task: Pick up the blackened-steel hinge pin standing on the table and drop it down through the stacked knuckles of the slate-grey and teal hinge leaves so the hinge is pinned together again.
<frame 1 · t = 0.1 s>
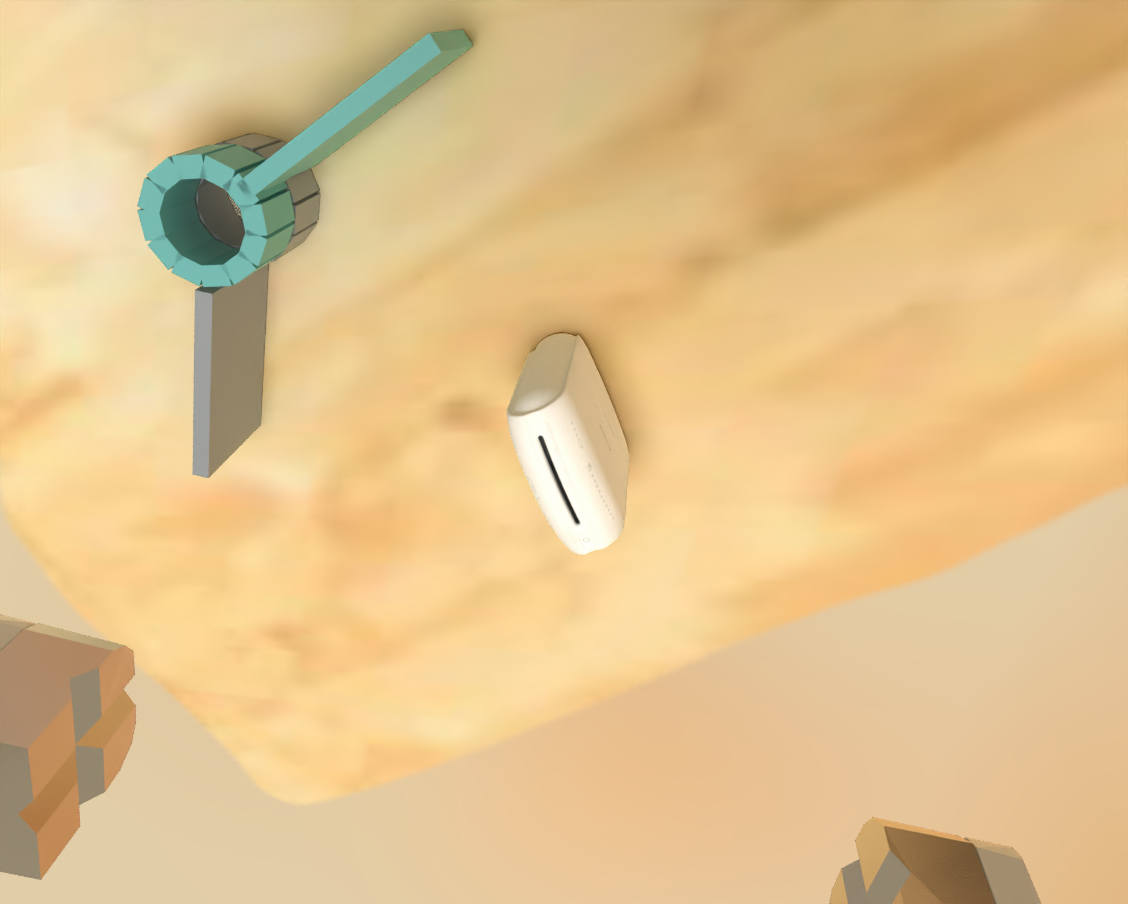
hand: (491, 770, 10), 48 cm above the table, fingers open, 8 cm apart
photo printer: (581, 401, 60), on the table
frame leaf: (264, 194, 56), on the table
door leaf: (314, 146, 50), point 4 cm above the table, hinge at 0.0°
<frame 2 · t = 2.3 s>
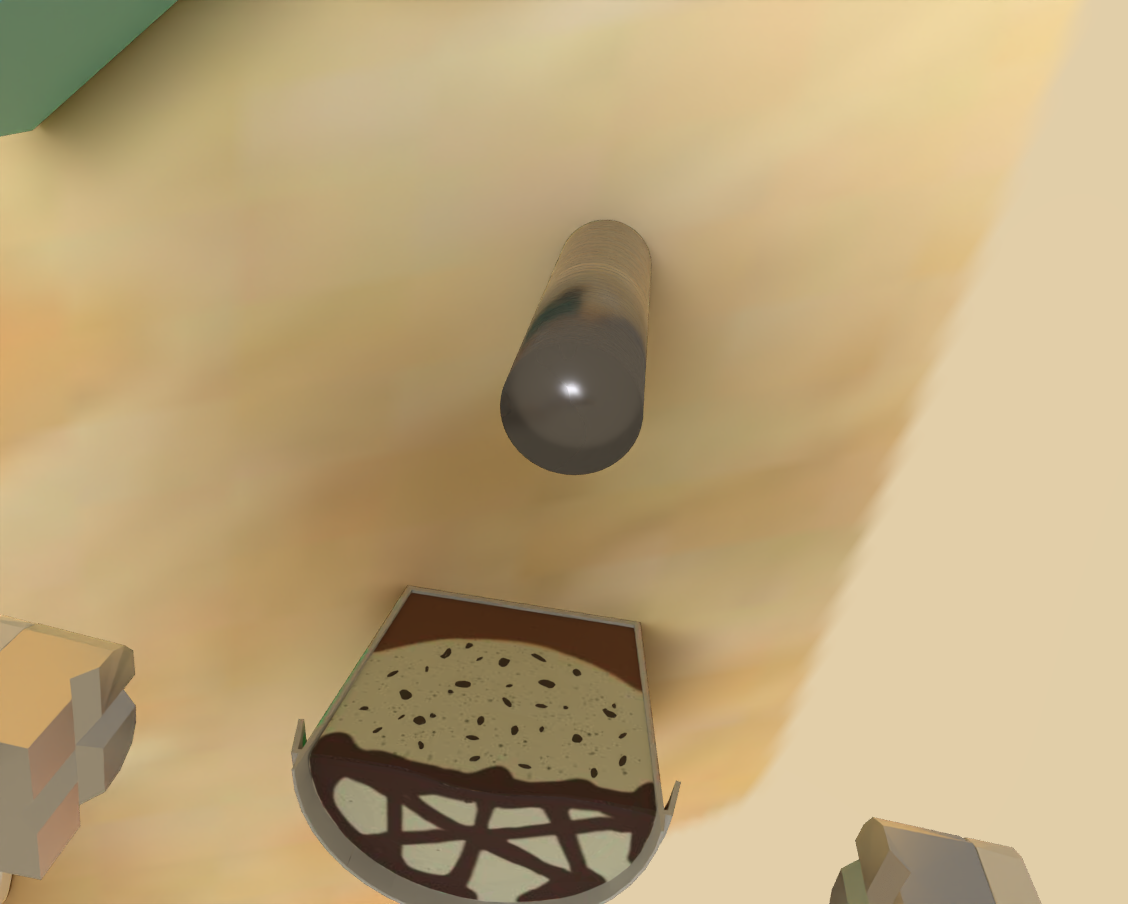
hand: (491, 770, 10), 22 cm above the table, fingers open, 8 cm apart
hinge pin: (605, 266, 30), on the table
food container: (516, 661, 38), on the table
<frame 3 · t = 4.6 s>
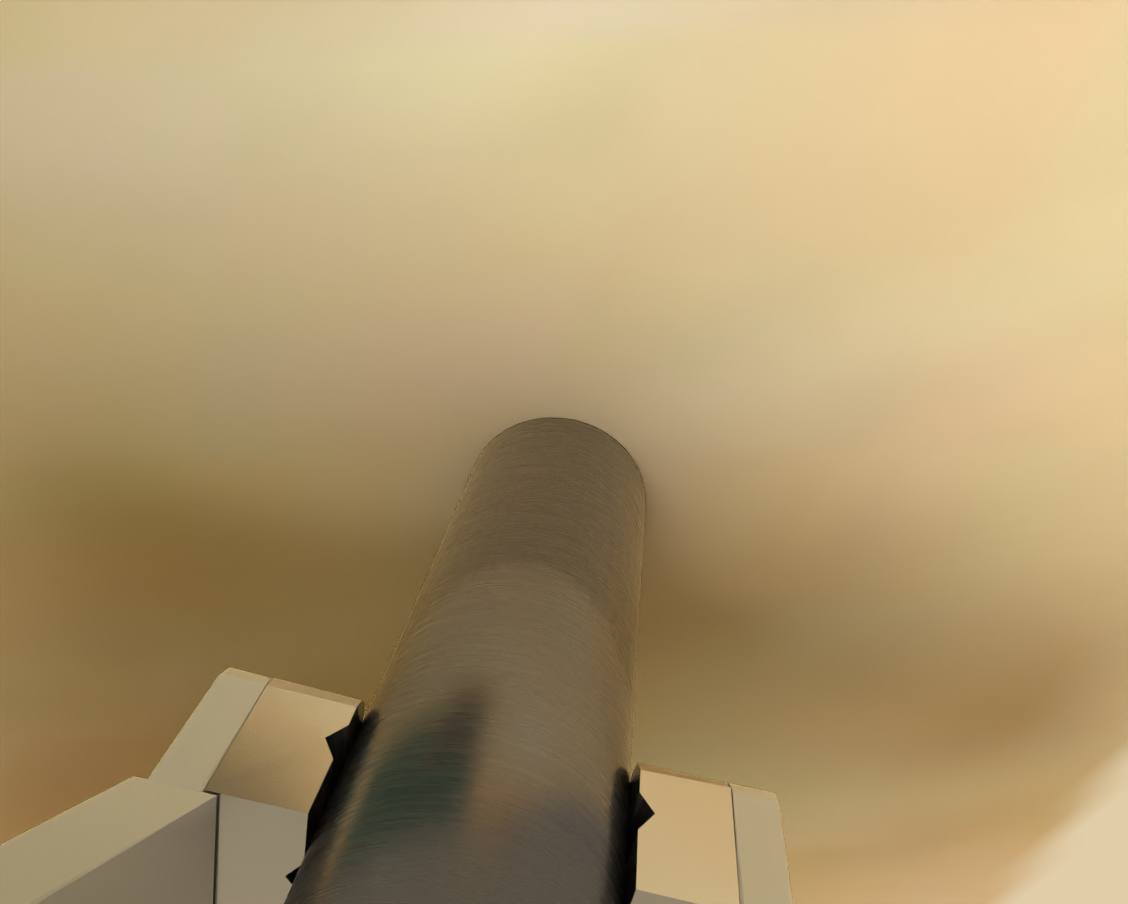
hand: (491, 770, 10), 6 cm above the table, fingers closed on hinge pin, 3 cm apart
hinge pin: (556, 498, 15), on the table, touching gripper
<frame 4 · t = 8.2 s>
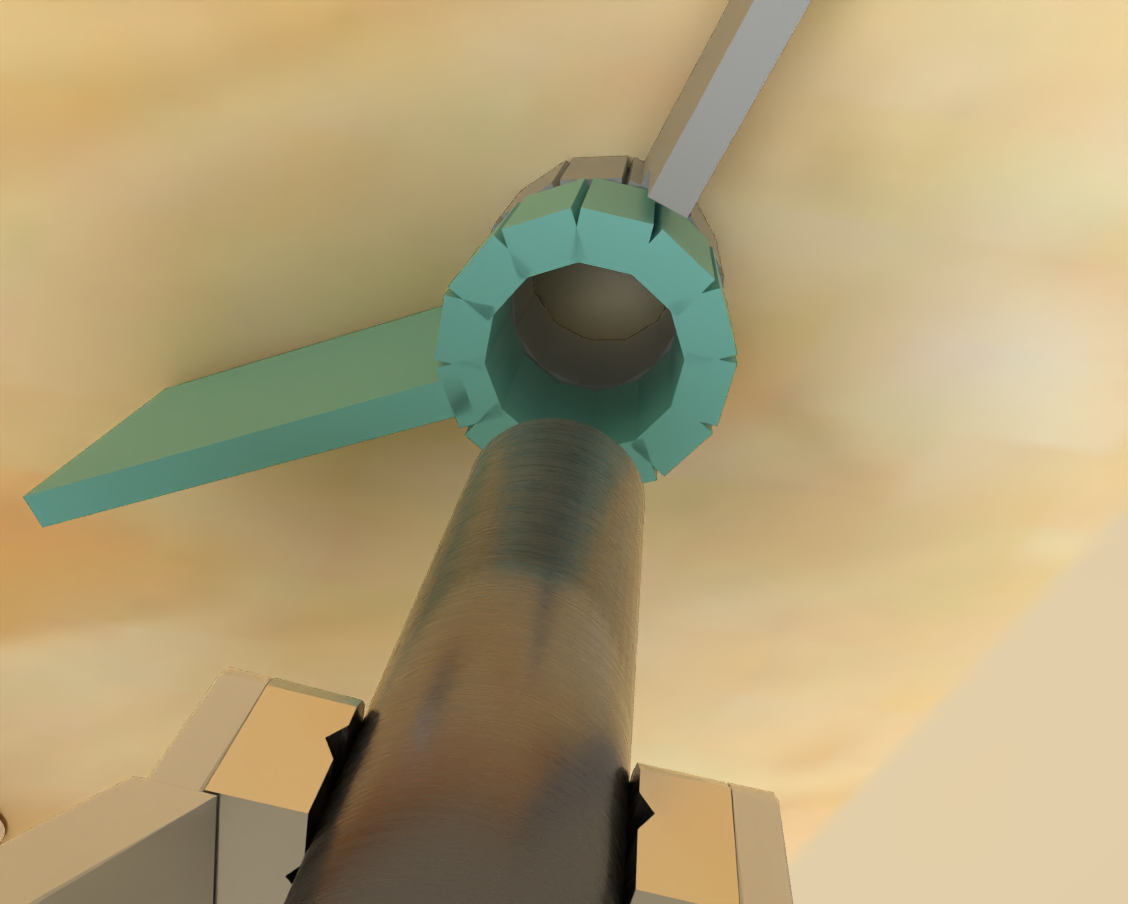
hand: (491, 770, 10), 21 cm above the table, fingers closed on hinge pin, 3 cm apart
frame leaf: (604, 271, 29), on the table
door leaf: (390, 370, 26), point 4 cm above the table, hinge at 0.0°
hinge pin: (556, 499, 15), point 15 cm above the table, touching gripper
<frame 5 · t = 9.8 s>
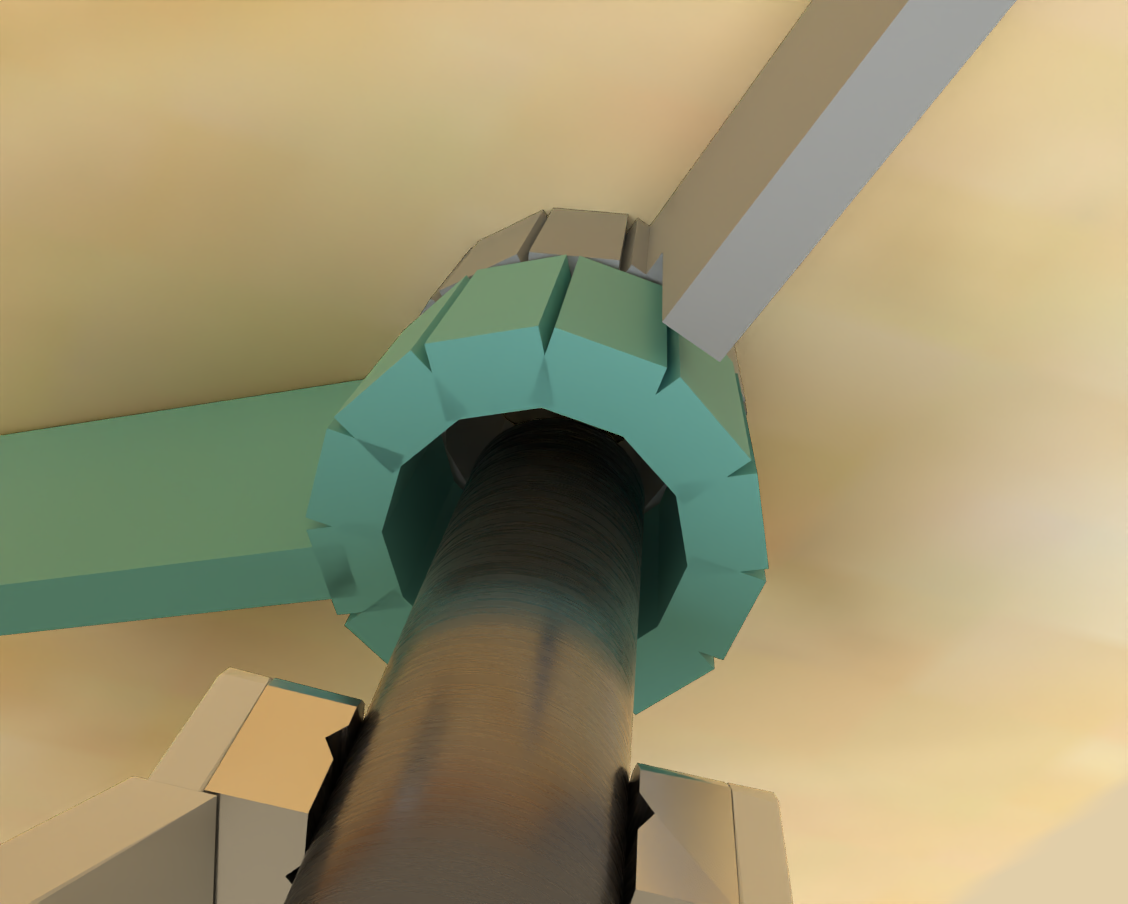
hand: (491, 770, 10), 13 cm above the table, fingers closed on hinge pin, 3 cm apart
frame leaf: (578, 361, 21), on the table
door leaf: (262, 480, 19), point 4 cm above the table, hinge at 0.0°
hinge pin: (556, 499, 15), point 7 cm above the table, touching gripper
when the fingers open (10 cm above the table, at t = 11.4 s): hinge pin drops 3 cm, resting in frame leaf.
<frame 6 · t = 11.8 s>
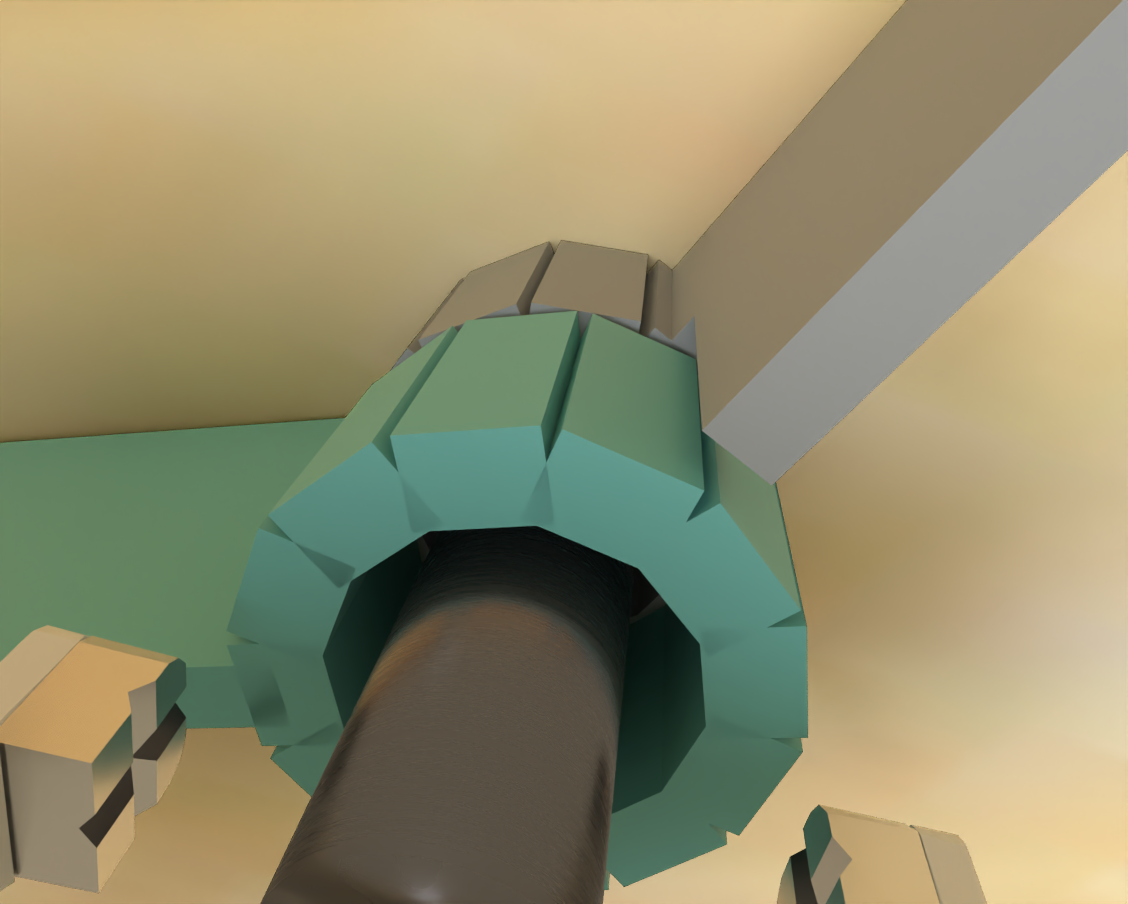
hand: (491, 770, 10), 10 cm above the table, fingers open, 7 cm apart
frame leaf: (577, 416, 18), on the table
door leaf: (192, 544, 16), point 4 cm above the table, hinge at 0.0°
hinge pin: (575, 417, 18), resting in frame leaf
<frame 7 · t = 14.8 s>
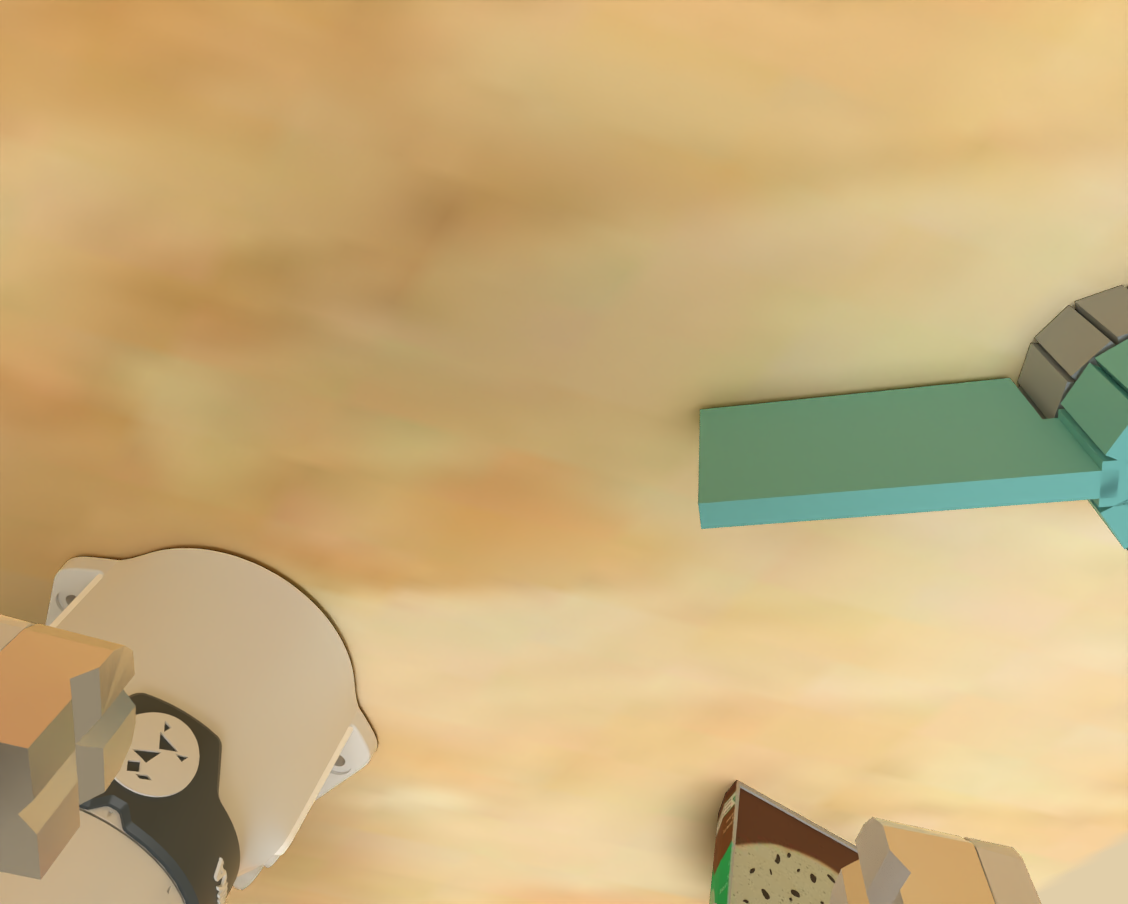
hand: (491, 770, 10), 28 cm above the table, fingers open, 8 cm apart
frame leaf: (1117, 374, 35), on the table
door leaf: (974, 438, 33), point 4 cm above the table, hinge at 0.0°
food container: (774, 849, 49), on the table
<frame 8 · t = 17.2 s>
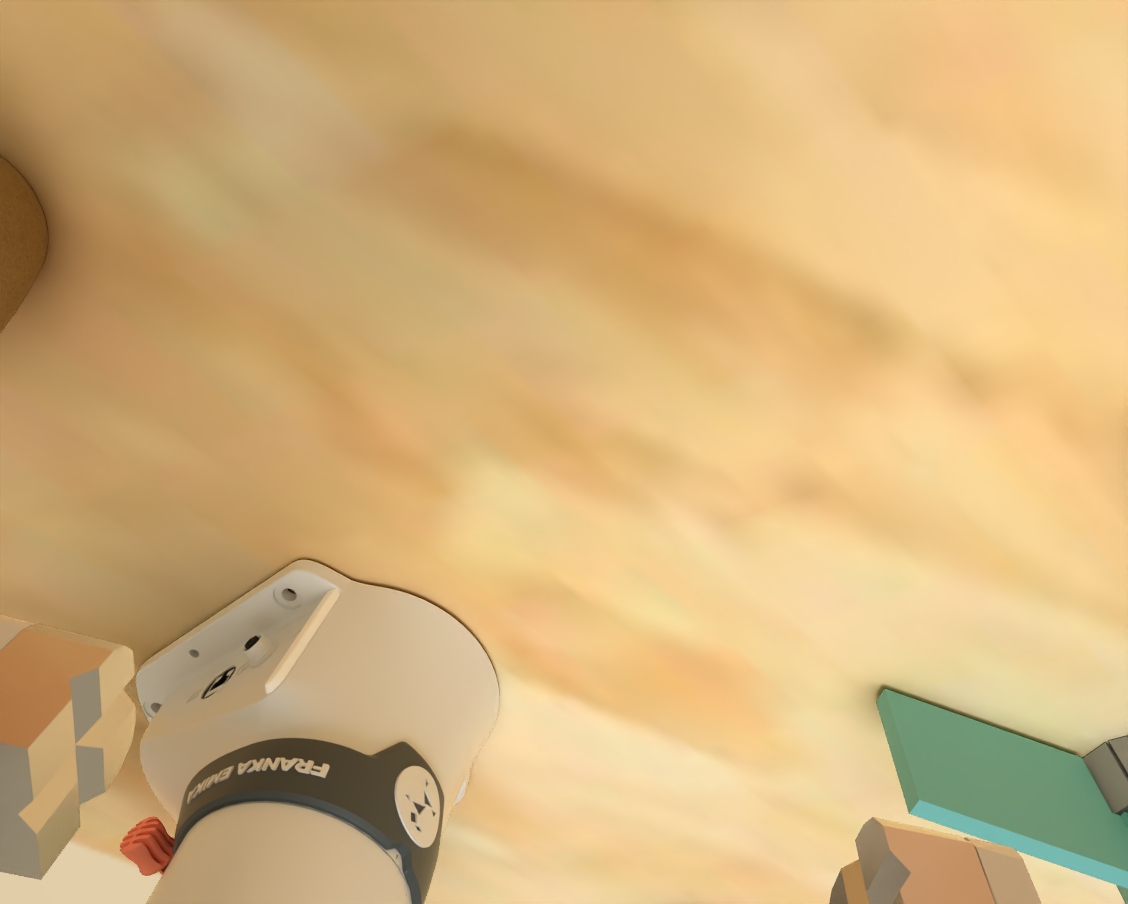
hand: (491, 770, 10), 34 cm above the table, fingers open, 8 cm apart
door leaf: (1067, 806, 47), point 4 cm above the table, hinge at 0.0°
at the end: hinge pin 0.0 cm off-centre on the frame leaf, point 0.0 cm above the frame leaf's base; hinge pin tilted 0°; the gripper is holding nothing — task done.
